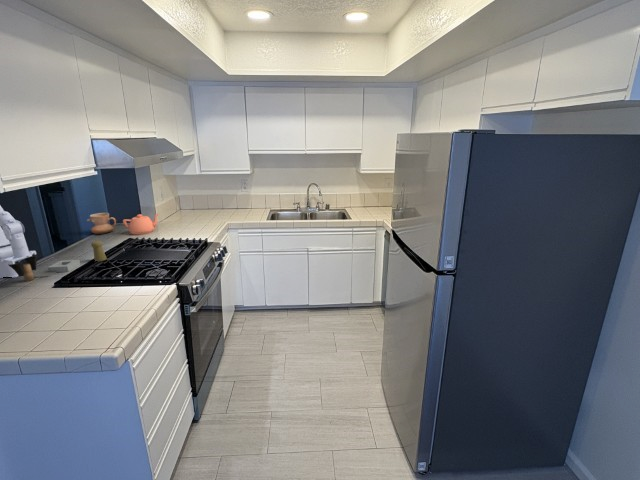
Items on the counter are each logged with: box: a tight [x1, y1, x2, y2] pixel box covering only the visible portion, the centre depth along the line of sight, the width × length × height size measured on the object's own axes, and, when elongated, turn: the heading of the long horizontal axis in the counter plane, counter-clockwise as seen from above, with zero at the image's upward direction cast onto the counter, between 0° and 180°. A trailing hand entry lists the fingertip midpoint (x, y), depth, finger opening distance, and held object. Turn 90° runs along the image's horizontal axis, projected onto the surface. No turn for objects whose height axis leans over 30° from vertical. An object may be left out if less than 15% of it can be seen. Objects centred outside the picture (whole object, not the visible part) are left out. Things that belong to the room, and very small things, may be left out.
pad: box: [34, 270, 58, 279], centre depth 173 cm, size 8×8×1 cm
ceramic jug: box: [86, 212, 117, 235], centre depth 249 cm, size 18×14×14 cm
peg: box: [23, 263, 35, 283], centre depth 165 cm, size 4×4×8 cm
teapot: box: [122, 213, 160, 236], centre depth 246 cm, size 25×17×13 cm
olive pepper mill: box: [91, 240, 108, 262], centre depth 191 cm, size 6×6×11 cm
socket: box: [47, 259, 81, 273], centre depth 180 cm, size 10×10×3 cm
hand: (27, 272), depth 165 cm, fingers open, 7 cm apart
